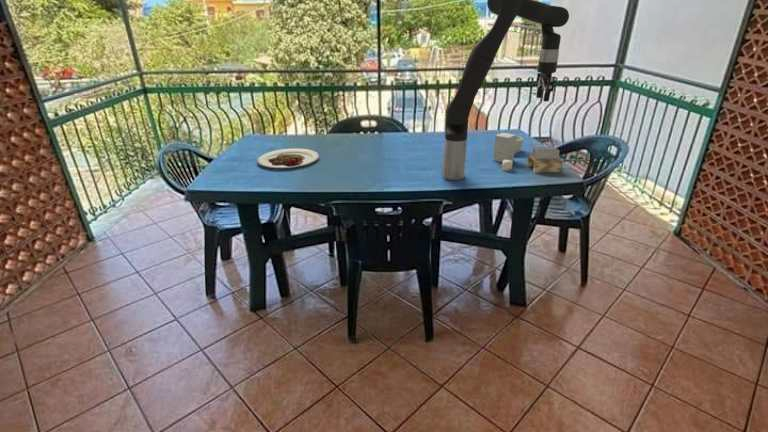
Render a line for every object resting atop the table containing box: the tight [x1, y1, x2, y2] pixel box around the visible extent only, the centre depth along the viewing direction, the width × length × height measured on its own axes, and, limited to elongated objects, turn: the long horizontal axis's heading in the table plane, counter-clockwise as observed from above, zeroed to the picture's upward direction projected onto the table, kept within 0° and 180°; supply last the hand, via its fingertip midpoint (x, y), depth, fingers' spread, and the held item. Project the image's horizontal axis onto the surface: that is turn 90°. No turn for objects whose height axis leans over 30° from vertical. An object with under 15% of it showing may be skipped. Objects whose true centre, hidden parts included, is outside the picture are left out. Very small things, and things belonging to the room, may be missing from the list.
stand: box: [526, 154, 564, 173], centre depth 188 cm, size 12×10×5 cm
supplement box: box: [492, 132, 517, 163], centre depth 198 cm, size 7×7×13 cm
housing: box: [531, 146, 560, 160], centre depth 186 cm, size 10×5×4 cm, turn 89°
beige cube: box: [501, 160, 514, 172], centre depth 188 cm, size 4×4×4 cm
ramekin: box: [514, 135, 524, 155], centre depth 212 cm, size 13×13×7 cm
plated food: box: [256, 148, 320, 169], centre depth 205 cm, size 30×30×3 cm
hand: (542, 99), depth 181 cm, fingers open, 8 cm apart
